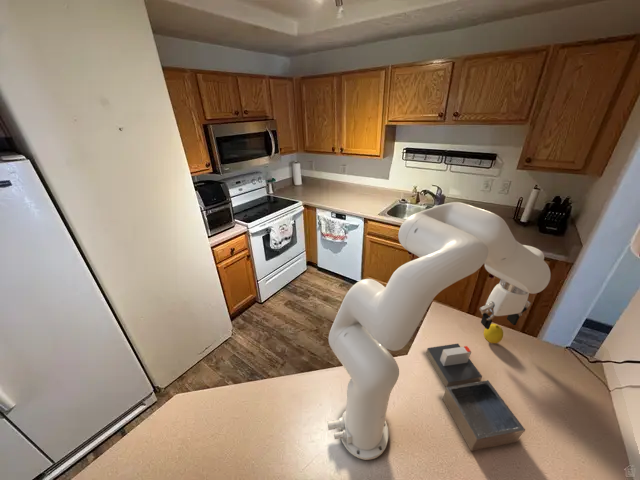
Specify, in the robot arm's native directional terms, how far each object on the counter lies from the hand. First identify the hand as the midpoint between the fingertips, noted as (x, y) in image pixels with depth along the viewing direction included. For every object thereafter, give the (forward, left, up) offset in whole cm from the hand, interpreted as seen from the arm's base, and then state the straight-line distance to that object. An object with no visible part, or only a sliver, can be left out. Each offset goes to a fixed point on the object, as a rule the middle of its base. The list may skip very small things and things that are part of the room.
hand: (497, 323), depth 87 cm
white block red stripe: (-19, -7, -5) cm, 21 cm away
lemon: (0, 0, -9) cm, 9 cm away
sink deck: (-19, -7, -9) cm, 22 cm away
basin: (-21, -22, -9) cm, 32 cm away
